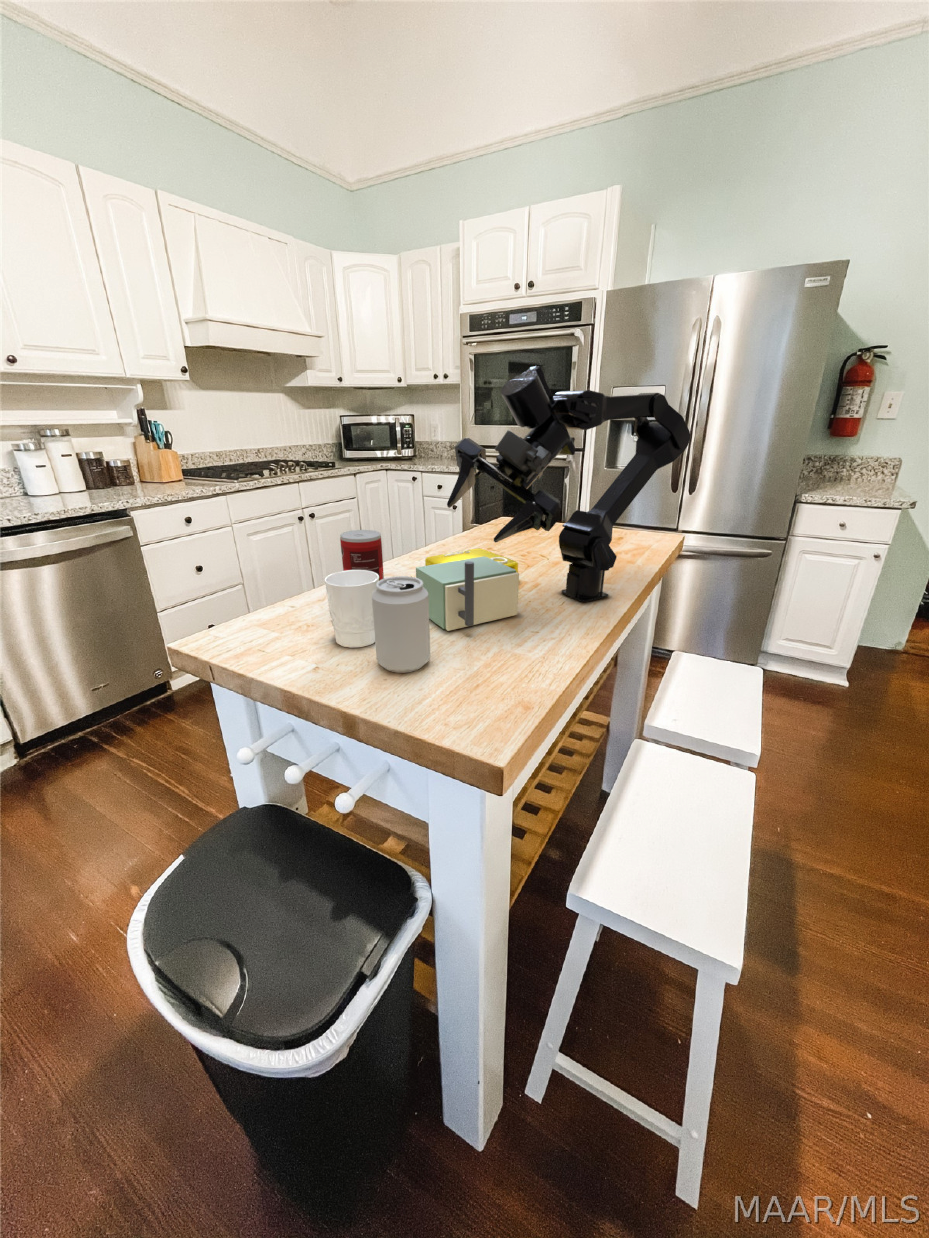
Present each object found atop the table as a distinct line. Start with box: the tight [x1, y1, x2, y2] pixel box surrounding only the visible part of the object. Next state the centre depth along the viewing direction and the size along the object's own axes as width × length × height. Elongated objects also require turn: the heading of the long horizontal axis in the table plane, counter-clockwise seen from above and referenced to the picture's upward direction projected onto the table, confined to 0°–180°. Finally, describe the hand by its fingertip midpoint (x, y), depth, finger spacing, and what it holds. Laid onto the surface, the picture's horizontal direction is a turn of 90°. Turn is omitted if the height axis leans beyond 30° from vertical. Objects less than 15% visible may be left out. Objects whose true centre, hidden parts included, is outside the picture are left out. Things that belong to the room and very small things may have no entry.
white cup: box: [324, 570, 379, 649], centre depth 76 cm, size 8×8×10 cm
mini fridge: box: [415, 556, 516, 630], centre depth 86 cm, size 14×10×8 cm
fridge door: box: [445, 561, 520, 632], centre depth 79 cm, size 14×4×12 cm, turn 120°
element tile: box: [424, 547, 519, 573], centre depth 103 cm, size 15×15×5 cm
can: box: [372, 575, 431, 674], centre depth 68 cm, size 8×8×12 cm
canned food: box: [339, 529, 385, 581], centre depth 97 cm, size 8×8×11 cm
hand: (470, 523), depth 75 cm, fingers open, 9 cm apart
